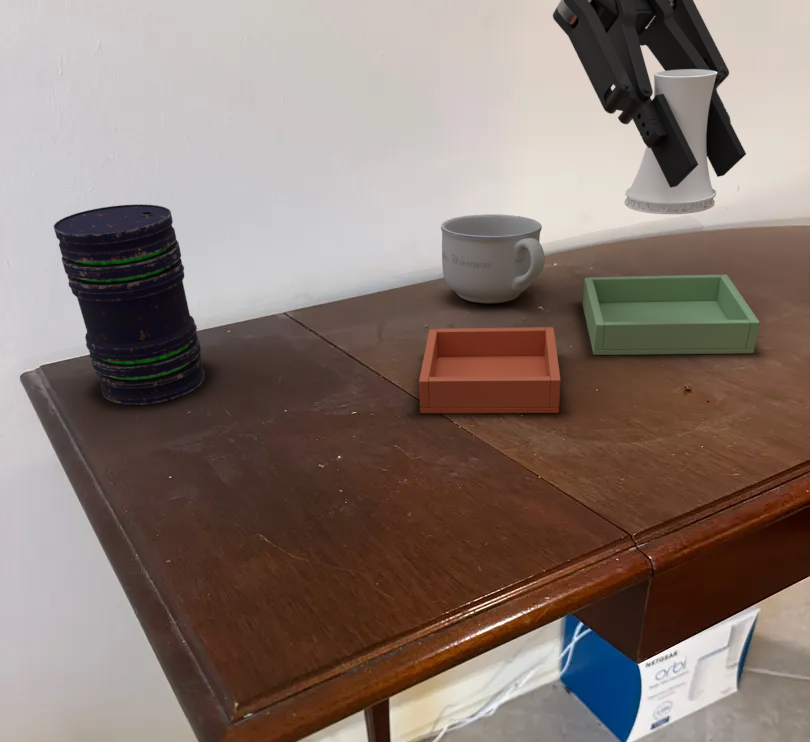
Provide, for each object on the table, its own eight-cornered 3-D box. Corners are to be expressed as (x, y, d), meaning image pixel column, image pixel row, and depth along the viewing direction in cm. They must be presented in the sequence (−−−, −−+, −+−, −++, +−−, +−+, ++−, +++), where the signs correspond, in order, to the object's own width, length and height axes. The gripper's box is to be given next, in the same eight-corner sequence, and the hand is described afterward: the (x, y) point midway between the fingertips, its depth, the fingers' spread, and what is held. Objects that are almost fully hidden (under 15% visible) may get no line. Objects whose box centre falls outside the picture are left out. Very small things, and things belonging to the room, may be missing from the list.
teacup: (428, 289, 95) (426, 217, 90) (512, 274, 98) (514, 204, 93) (477, 328, 84) (477, 249, 79) (570, 310, 87) (575, 233, 82)
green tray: (722, 302, 86) (727, 274, 85) (753, 353, 75) (760, 322, 74) (582, 305, 88) (584, 277, 86) (593, 355, 77) (596, 324, 75)
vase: (690, 190, 74) (707, 64, 69) (730, 210, 68) (753, 73, 62) (611, 198, 74) (622, 71, 68) (645, 218, 68) (660, 81, 62)
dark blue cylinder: (111, 415, 72) (60, 242, 63) (91, 376, 79) (44, 216, 70) (219, 388, 75) (186, 220, 67) (191, 353, 83) (157, 198, 74)
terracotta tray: (552, 357, 77) (553, 326, 75) (558, 413, 68) (560, 379, 66) (430, 358, 78) (429, 328, 77) (420, 413, 69) (418, 380, 67)
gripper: (640, -36, 75) (751, 182, 73) (483, -24, 69) (600, 218, 66) (693, -115, 69) (816, 123, 66) (524, -110, 62) (655, 156, 59)
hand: (708, 170), depth 66 cm, fingers closed on vase, 5 cm apart
